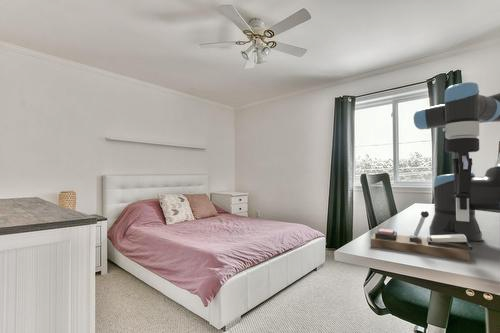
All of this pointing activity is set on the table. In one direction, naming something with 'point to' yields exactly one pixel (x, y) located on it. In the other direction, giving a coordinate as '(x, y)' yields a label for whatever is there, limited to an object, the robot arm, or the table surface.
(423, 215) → the toggle lever
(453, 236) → the rocker switch
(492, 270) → the table surface
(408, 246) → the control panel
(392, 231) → the push button
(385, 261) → the table surface
